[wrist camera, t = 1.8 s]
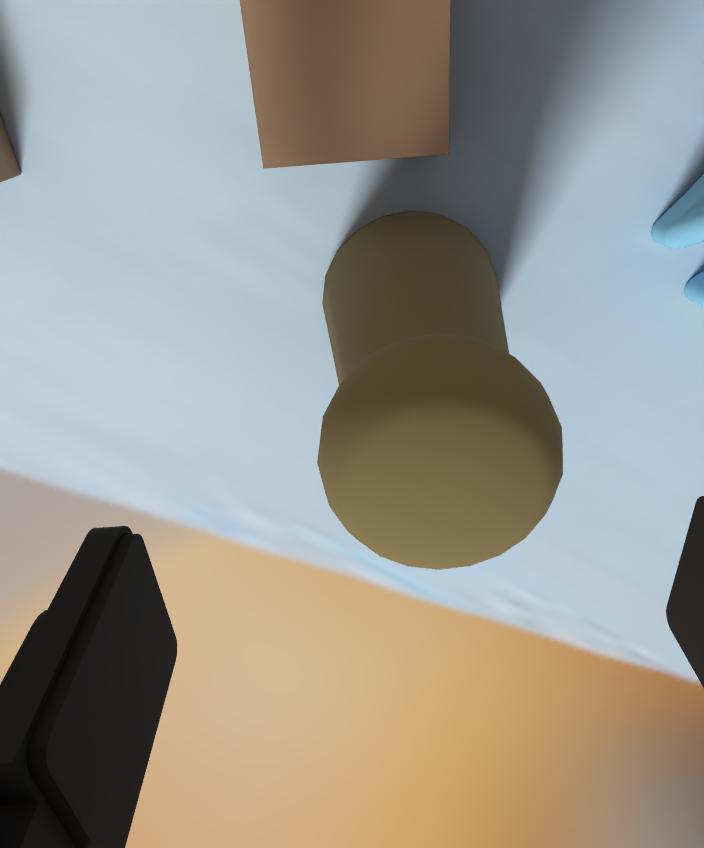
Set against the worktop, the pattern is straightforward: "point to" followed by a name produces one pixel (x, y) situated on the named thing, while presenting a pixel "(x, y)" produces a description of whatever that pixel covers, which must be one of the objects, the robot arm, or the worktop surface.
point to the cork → (430, 400)
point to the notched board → (341, 80)
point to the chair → (685, 232)
